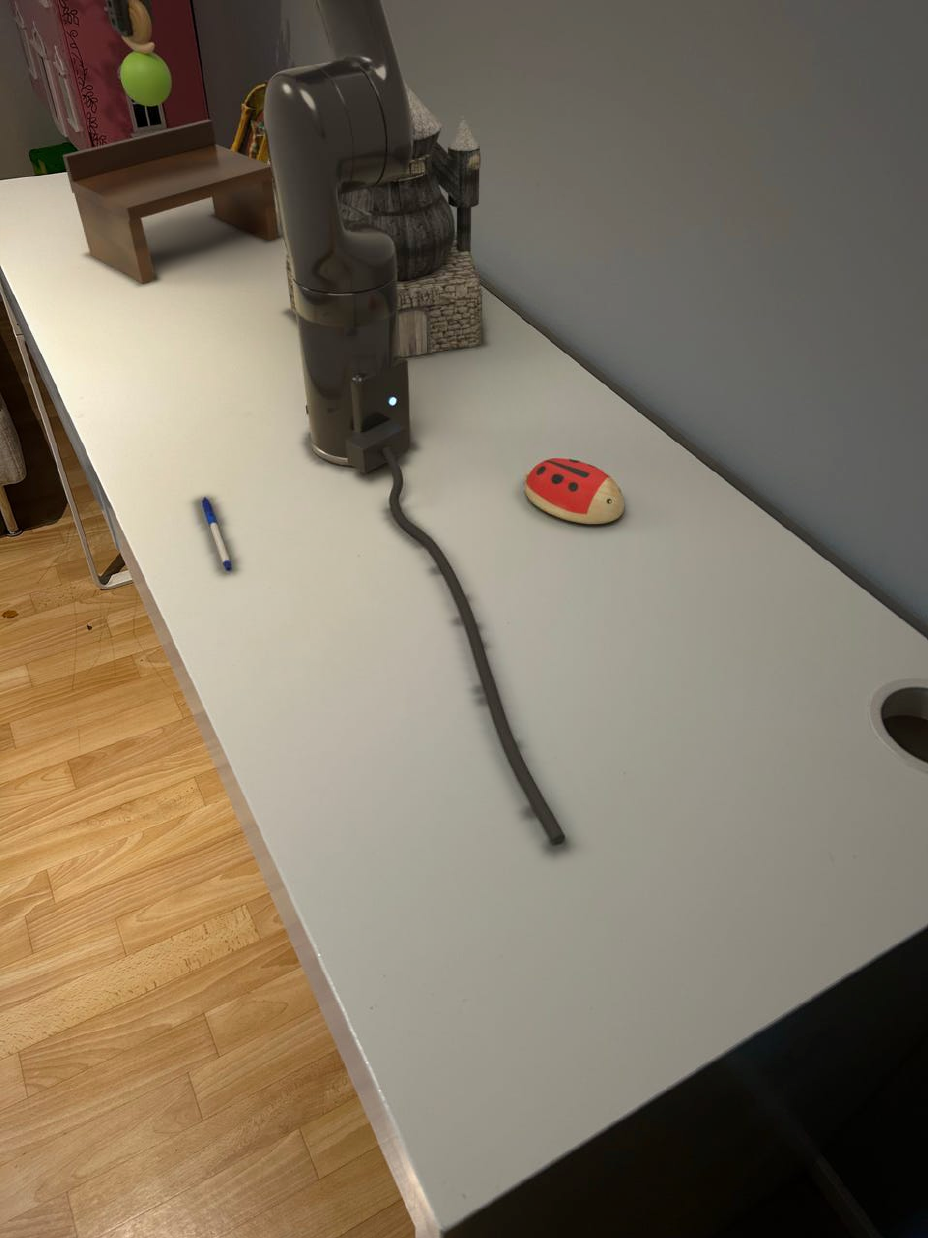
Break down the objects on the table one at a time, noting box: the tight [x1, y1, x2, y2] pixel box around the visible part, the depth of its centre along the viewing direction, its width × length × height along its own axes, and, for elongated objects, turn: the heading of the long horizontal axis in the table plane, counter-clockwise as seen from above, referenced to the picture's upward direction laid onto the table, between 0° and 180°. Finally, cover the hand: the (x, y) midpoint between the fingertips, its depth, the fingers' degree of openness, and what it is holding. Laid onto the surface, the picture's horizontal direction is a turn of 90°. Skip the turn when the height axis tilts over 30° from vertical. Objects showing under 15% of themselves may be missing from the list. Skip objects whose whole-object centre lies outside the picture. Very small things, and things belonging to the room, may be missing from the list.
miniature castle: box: [285, 80, 483, 358], centre depth 102 cm, size 22×16×30 cm
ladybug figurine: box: [524, 457, 625, 525], centre depth 85 cm, size 7×10×4 cm
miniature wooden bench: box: [62, 119, 280, 285], centre depth 125 cm, size 14×22×13 cm, turn 136°
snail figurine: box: [119, 0, 173, 107], centre depth 102 cm, size 5×6×12 cm
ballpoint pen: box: [201, 496, 232, 572], centre depth 82 cm, size 10×1×1 cm, turn 24°
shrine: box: [230, 78, 271, 164], centre depth 141 cm, size 12×8×15 cm
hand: (134, 32), depth 102 cm, fingers closed on snail figurine
